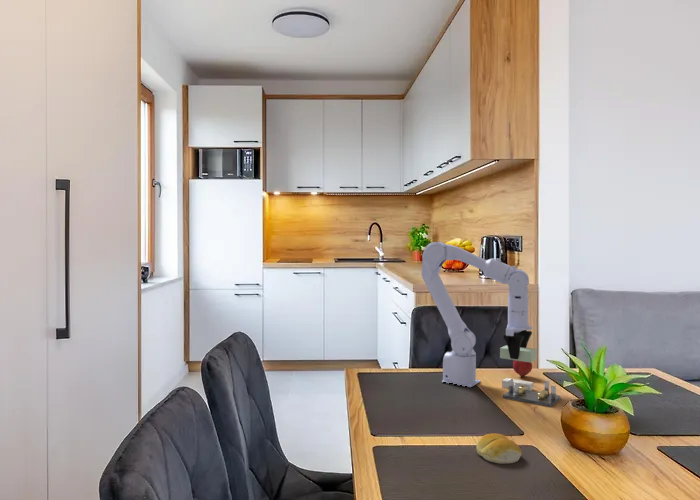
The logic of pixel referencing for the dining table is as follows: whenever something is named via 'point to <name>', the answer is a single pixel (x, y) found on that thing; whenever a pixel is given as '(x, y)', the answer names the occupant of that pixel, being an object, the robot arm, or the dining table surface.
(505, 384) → the stand
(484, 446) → the bread roll
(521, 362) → the onion
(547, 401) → the chassis
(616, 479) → the dining table surface
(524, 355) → the pale green block
